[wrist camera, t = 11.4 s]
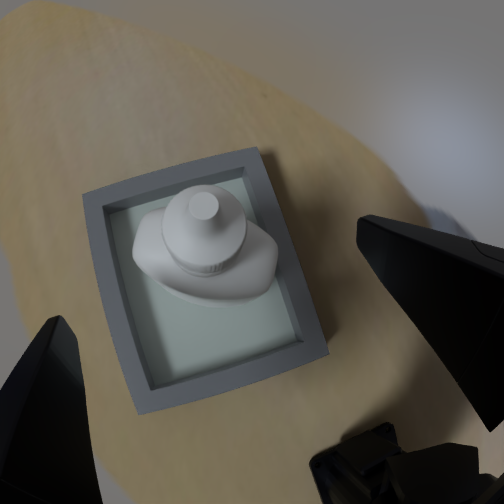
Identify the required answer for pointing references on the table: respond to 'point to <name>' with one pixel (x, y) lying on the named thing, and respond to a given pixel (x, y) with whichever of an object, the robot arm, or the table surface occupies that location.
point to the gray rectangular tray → (191, 315)
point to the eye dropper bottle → (206, 249)
